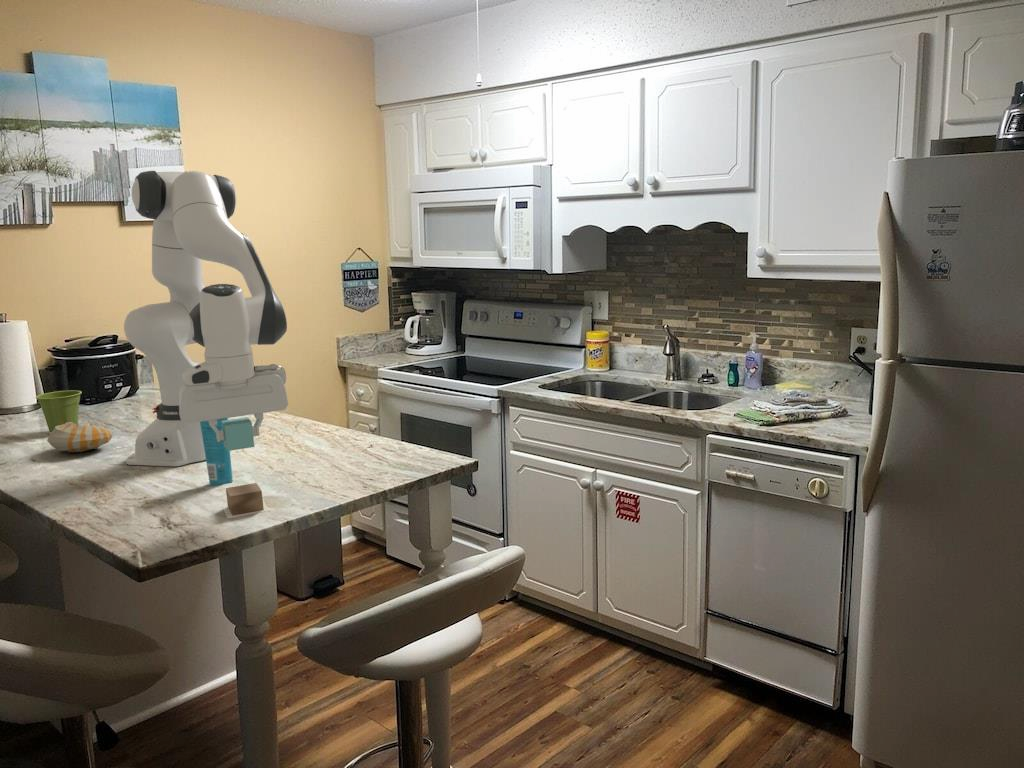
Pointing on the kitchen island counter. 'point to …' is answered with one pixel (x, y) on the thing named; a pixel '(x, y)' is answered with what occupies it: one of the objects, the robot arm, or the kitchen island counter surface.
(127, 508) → the kitchen island counter surface
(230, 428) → the teal cube
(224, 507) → the slate mat
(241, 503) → the walnut block
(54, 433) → the nautilus
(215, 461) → the tube
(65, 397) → the plant pot
